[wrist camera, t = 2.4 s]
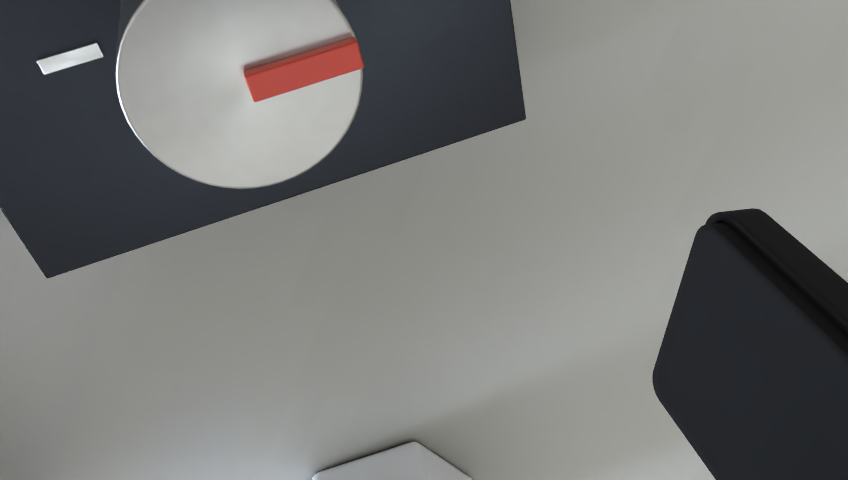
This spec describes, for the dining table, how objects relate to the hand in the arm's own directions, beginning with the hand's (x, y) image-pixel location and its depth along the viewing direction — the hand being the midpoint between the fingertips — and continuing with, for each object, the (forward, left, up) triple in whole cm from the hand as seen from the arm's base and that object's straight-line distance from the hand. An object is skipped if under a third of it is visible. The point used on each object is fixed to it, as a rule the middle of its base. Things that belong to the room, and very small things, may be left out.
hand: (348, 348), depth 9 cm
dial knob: (-1, 0, -12) cm, 12 cm away
